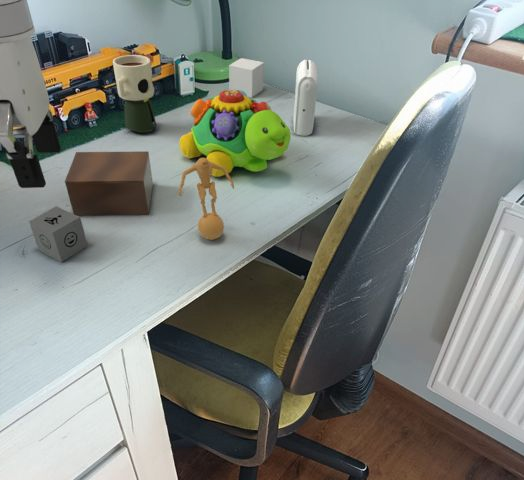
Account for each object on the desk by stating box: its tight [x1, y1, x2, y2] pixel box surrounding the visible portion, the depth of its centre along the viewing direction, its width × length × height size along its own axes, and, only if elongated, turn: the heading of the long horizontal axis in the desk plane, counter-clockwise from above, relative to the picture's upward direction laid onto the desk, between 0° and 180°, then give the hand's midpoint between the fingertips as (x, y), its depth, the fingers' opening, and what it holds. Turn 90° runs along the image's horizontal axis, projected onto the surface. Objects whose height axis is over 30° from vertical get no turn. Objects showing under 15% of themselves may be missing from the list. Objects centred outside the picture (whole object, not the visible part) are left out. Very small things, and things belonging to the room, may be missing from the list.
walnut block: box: [64, 150, 154, 217], centre depth 85 cm, size 12×10×6 cm
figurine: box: [178, 157, 235, 241], centre depth 77 cm, size 8×6×12 cm
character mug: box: [112, 54, 157, 133], centre depth 102 cm, size 11×7×13 cm, turn 161°
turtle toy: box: [178, 89, 292, 178], centre depth 94 cm, size 17×23×12 cm
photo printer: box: [292, 59, 319, 137], centre depth 105 cm, size 10×4×12 cm, turn 177°
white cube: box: [228, 57, 265, 99], centre depth 121 cm, size 6×6×6 cm
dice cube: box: [28, 206, 88, 263], centre depth 75 cm, size 5×5×5 cm
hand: (41, 168), depth 68 cm, fingers open, 9 cm apart
